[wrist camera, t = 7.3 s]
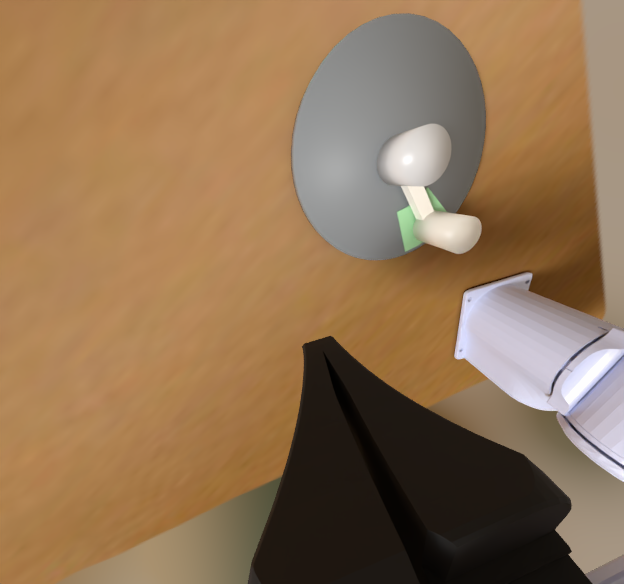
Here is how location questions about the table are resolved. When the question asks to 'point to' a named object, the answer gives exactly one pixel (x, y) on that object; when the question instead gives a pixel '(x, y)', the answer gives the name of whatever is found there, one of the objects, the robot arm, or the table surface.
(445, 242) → the tuning lever
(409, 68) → the dial plate
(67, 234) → the table surface
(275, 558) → the robot arm
